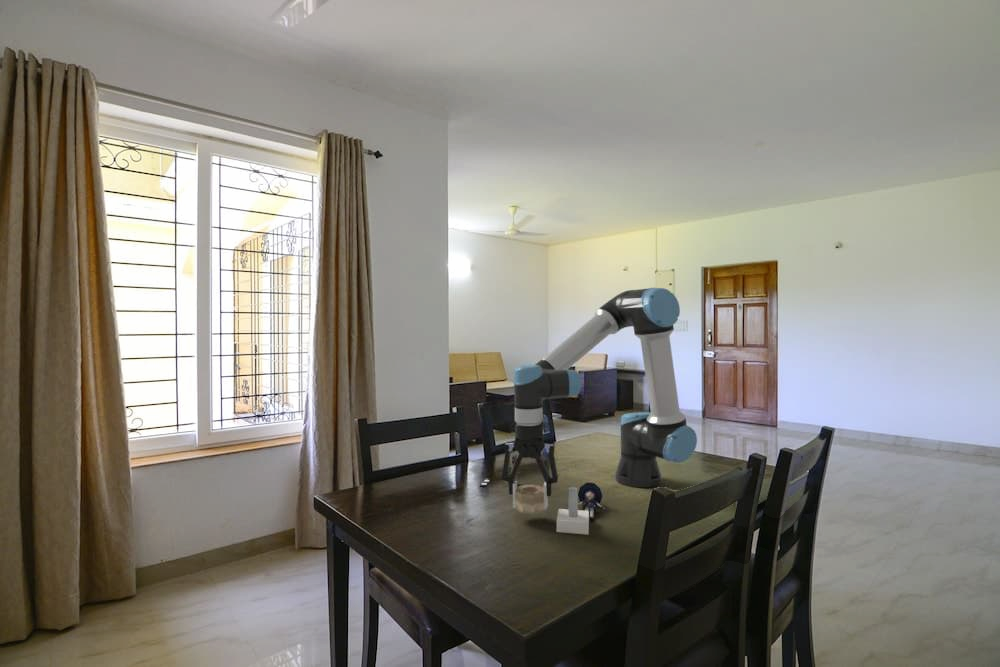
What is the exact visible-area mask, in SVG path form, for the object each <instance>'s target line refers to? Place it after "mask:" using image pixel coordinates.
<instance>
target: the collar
mask: <svg viewBox="0 0 1000 667" xmlns="http://www.w3.org/2000/svg"><path fill="white" fill-rule="evenodd" d="M515 503H516V508H515V510H516V511H518V512H519V513H523V514H530V515H531V514H535V515H536V514H538V513H541V512H544V511H545V510H544V487H543V486H541V485H538V484H524V485H519V486H517V489H516V491H515Z"/></svg>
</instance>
